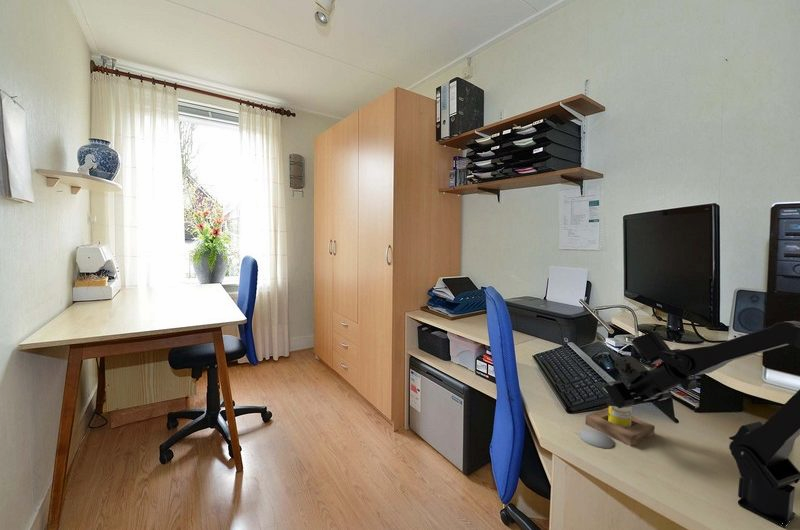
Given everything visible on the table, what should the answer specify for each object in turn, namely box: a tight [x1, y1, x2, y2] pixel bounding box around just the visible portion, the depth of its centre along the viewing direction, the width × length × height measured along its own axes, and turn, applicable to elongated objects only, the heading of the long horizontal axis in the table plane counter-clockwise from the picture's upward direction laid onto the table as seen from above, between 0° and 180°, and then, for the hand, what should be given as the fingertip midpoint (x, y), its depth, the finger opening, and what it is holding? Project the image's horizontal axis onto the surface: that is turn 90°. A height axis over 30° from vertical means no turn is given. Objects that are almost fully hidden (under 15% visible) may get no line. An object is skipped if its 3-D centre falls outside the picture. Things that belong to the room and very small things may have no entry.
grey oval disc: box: [578, 428, 615, 449], centre depth 89 cm, size 8×8×1 cm
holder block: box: [584, 406, 656, 447], centre depth 94 cm, size 12×12×2 cm
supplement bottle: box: [608, 405, 633, 429], centre depth 94 cm, size 5×5×10 cm
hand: (615, 402), depth 95 cm, fingers open, 6 cm apart
